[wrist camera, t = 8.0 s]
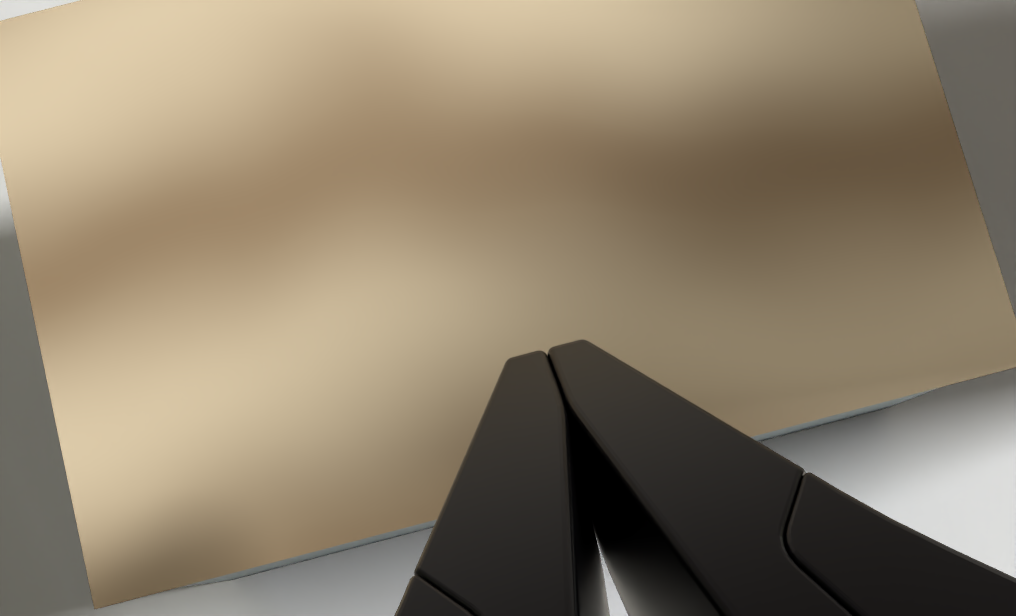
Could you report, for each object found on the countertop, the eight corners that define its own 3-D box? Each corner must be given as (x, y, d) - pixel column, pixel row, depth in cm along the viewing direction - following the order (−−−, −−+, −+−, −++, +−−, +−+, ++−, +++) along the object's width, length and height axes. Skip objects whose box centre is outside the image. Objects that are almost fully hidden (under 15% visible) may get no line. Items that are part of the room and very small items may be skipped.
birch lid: (1003, 364, 16) (1030, 363, 15) (116, 598, 15) (94, 608, 15) (835, -168, 17) (852, -197, 16) (0, 45, 16) (-27, 27, 16)
